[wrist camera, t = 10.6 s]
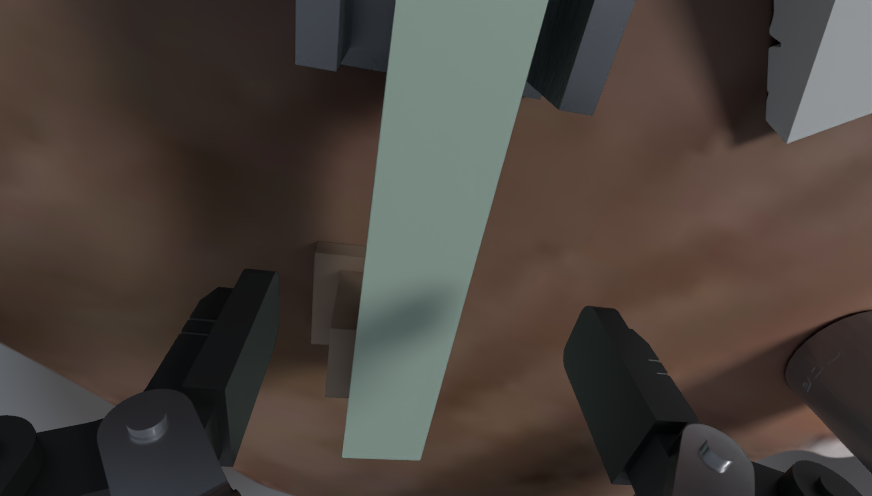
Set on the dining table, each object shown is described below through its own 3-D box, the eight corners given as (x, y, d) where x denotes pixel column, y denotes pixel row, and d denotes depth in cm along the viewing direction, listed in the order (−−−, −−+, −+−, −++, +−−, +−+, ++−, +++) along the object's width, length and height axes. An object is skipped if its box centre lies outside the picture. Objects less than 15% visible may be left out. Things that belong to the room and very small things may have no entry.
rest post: (469, 257, 27) (486, 325, 22) (447, 341, 30) (457, 415, 25) (318, 241, 25) (298, 309, 20) (313, 330, 29) (296, 407, 24)
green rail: (563, -227, 11) (635, -310, 8) (416, 390, 24) (420, 460, 20) (426, -270, 11) (440, -379, 7) (349, 386, 23) (342, 457, 20)
